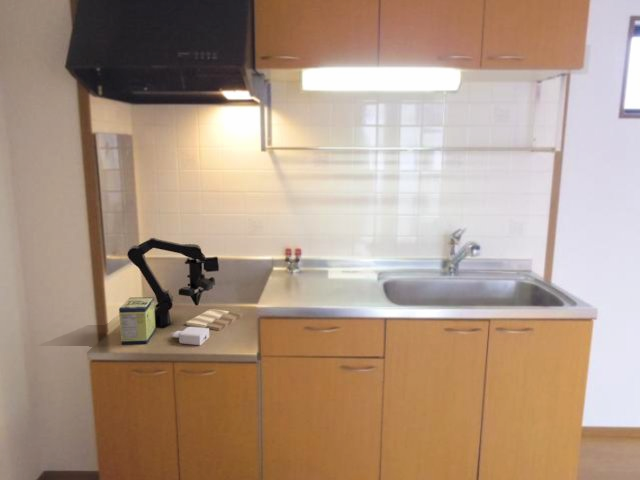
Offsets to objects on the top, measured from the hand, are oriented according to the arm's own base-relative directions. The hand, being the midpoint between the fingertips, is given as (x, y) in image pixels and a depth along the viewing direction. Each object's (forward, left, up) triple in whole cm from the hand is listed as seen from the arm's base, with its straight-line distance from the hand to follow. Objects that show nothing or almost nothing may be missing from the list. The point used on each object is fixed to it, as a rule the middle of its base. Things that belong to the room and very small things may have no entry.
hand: (196, 305), depth 214 cm
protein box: (-24, +12, -9) cm, 29 cm away
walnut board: (+5, -12, -8) cm, 15 cm away
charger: (-19, -9, -9) cm, 23 cm away
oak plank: (+5, -3, -8) cm, 10 cm away
